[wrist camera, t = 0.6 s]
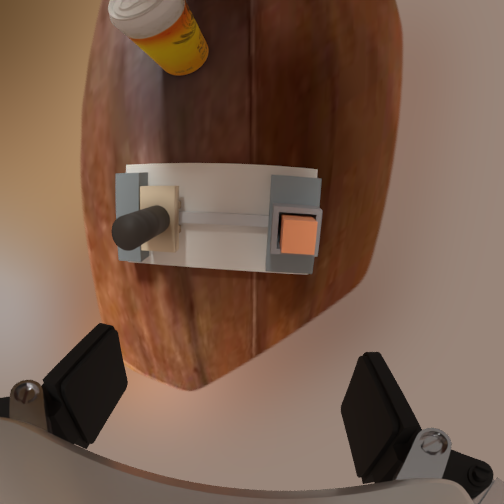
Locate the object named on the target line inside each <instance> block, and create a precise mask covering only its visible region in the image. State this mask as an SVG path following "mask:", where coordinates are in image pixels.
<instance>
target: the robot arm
mask: <svg viewBox="0 0 504 504" xmlns="http://www.w3.org/2000/svg"><path fill="white" fill-rule="evenodd" d="M43 382H44V384H43V385H42V386H41V385H40V384H39V383H38V382H36V381H33V380H24V381H20V382H18V383H17V384H15V385H14V386H13V388H12V389H11V393H10V397H4V398H0V504H504V482H503V481H502V480H500V479H499V478H496V479H495V480H494V479H493V471H492V469H491V467H490V466H489V465H488V464H487V463H485V462H484V461H481V460H478V459H475V458H472V457H470V456H467V455H464V454H461V453H459V452H456V451H454V450H451V445H452V443H451V440H450V438H449V436H448V435H447V434H446V433H445V432H443V431H442V430H440V429H436V428H427V429H423V430H422V429H421V427H420V425H419V423H418V421H417V419H416V417H415V415H414V413H413V412H412V409H411V408H410V406H409V404H408V402H407V400H406V398H405V396H404V395H403V393H402V391H401V389H400V387H399V386H398V384H397V382H396V380H395V378H394V377H393V375H392V373H391V371H390V369H389V368H388V366H387V364H386V362H385V361H384V359H383V357H382V356H381V354H380V353H379V352H366V353H364V354H363V356H360V357H359V358H358V361H357V365H356V367H355V370H354V373H353V376H352V378H351V381H350V384H349V387H348V389H347V392H346V395H345V397H344V400H343V402H342V405H341V414H342V417H343V421H344V425H345V429H346V433H347V437H348V441H349V445H350V449H351V453H352V457H353V461H354V465H355V469H356V473H357V476H358V477H361V478H362V482H363V484H365V483H371V482H375V483H374V484H368V485H361V486H354V487H346V488H335V489H323V490H307V491H266V490H249V489H237V488H227V487H219V486H212V485H206V484H200V483H194V482H189V481H184V480H179V479H174V478H170V477H165V476H162V475H158V474H154V473H151V472H147V471H143V470H140V469H137V468H134V467H130V466H127V465H124V464H121V463H118V462H116V461H113V460H110V459H107V458H105V457H102V456H100V455H97V454H94V453H92V452H90V451H88V450H85V449H87V447H88V446H89V444H92V443H94V441H95V440H96V438H97V436H98V435H99V433H100V431H101V429H102V428H103V426H104V424H105V423H106V421H107V419H108V418H109V416H110V414H111V413H112V411H113V409H114V408H115V406H116V404H117V403H118V401H119V400H120V398H121V396H122V394H123V393H124V391H125V390H126V387H127V383H128V381H127V376H126V372H125V367H124V363H123V358H122V352H121V347H120V342H119V336H118V332H117V331H116V330H115V328H114V327H113V326H111V325H107V324H103V323H99V324H98V325H97V326H96V327H95V328H94V329H93V330H92V331H91V332H89V334H88V335H86V336H85V337H84V338H83V339H82V340H81V341H80V342H79V343H78V344H77V345H76V346H75V347H74V348H73V349H72V350H71V351H70V352H69V353H68V354H67V355H66V356H65V357H64V358H63V359H62V360H61V361H60V363H58V364H57V365H56V366H55V367H54V368H53V369H52V370H51V371H50V372H49V373H48V375H47V376H46V377H45V378H44V379H43ZM74 444H76V445H79V446H81V447H83V448H85V449H83V448H81V447H78V446H76V445H74Z"/></svg>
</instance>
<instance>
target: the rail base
mask: <svg viewBox="0 0 504 504" xmlns="http://www.w3.org/2000/svg"><path fill="white" fill-rule="evenodd" d="M317 173H318V169H309V168H298V167H285V166H271V165H254V164H228V163H160V164H135V165H126V173H119V174H116V219H117V218H118V217H120V216H123V215H126V214H129V213H132V212H135V211H138V210H140V186H179V201H181V208H180V209H179V225H181V232H180V233H179V249H178V250H177V251H176V252H175V253H174V252H159V251H145V250H141V246H139V247H137V248H136V249H134V250H131V251H126V250H123V249H121V248H119V247H118V256H119V260H122V261H129V262H135V263H146V264H158V265H171V266H183V267H196V268H210V269H224V270H238V271H254V272H269V273H285V274H304V275H308V274H312V272H313V264H314V257H318V249H319V240H320V230H321V220H322V209H320V208H319V206H320V194H321V181H322V179H319V178H317ZM281 214H293V215H306V216H312V217H313V218H314V219H315V220H316V221H317V222H318V224H317V234H316V243H315V252H314V255H309V254H293V253H281V249H280V244H279V241H280V228H281Z"/></svg>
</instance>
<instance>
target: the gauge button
mask: <svg viewBox="0 0 504 504" xmlns="http://www.w3.org/2000/svg"><path fill="white" fill-rule="evenodd" d="M317 224H318V222H317V221H316V220H315V219H314V218H313V217H312V216H306V215H293V214H281V228H280V241H279V244H280V249H281V253H293V254H309V255H314V252H315V243H316V234H317Z"/></svg>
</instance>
